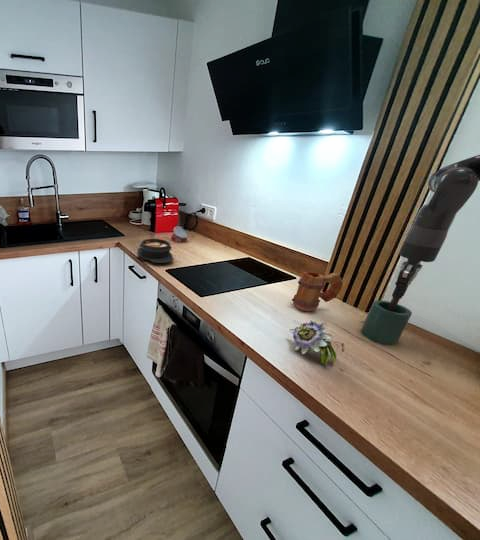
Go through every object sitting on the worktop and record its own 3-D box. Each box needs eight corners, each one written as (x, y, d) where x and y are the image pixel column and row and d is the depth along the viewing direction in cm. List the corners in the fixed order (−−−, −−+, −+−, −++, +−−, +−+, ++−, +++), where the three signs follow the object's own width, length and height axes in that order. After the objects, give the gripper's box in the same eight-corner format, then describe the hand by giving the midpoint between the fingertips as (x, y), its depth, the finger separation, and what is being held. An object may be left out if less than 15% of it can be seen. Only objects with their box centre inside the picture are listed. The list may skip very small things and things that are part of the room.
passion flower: (292, 364, 87) (279, 326, 89) (324, 356, 88) (311, 317, 90) (320, 370, 76) (304, 326, 78) (356, 360, 77) (340, 317, 79)
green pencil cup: (383, 329, 96) (396, 301, 92) (404, 346, 88) (420, 316, 84) (354, 327, 97) (366, 299, 93) (372, 343, 89) (386, 313, 85)
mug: (293, 312, 105) (305, 275, 99) (286, 301, 113) (296, 266, 107) (337, 317, 103) (351, 279, 97) (326, 305, 110) (339, 270, 104)
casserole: (130, 251, 161) (130, 237, 158) (159, 248, 167) (160, 234, 164) (148, 268, 140) (150, 252, 137) (181, 264, 146) (183, 248, 143)
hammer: (383, 328, 94) (406, 279, 87) (392, 336, 90) (418, 285, 83) (368, 327, 94) (390, 278, 87) (377, 335, 90) (401, 284, 83)
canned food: (182, 245, 189) (190, 232, 186) (183, 248, 180) (192, 235, 177) (167, 236, 189) (176, 223, 186) (168, 239, 179) (176, 225, 176)
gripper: (438, 250, 73) (408, 308, 80) (445, 241, 81) (418, 295, 88) (399, 242, 79) (375, 297, 86) (410, 235, 86) (387, 286, 93)
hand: (397, 296), depth 87 cm, fingers closed on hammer, 2 cm apart
